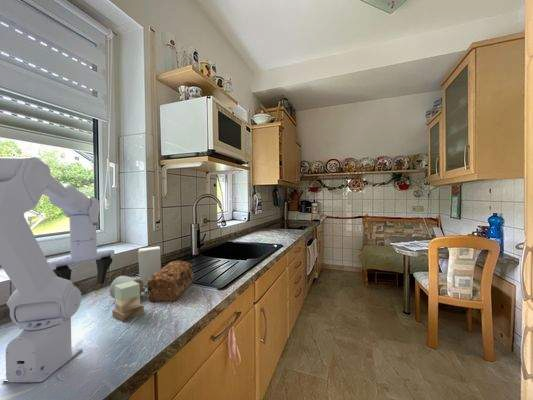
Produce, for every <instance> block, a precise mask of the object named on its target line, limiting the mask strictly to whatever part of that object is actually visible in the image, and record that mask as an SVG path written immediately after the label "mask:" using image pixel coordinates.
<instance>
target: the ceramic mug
mask: <svg viewBox="0 0 533 400" xmlns="http://www.w3.org/2000/svg"><path fill="white" fill-rule="evenodd" d="M129 281H134V282H137V283H139V285H140V295H141V294H142V293H145V292H146V290H147V288H146V286H143V282H142V281H141V280H140V278H138V277H131V276H128V275H120V276H117V277H115V279H113V281H112V282H111V284H110V287H109V295H110V296H111V298H113V299H115V285H119V284H122V283H126V282H129Z"/></svg>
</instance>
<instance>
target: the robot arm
mask: <svg viewBox="0 0 533 400" xmlns="http://www.w3.org/2000/svg"><path fill="white" fill-rule="evenodd" d="M42 196H45V197H47V198H48V201H49V203H50V204H52V205H53V206H55V207H57V208H59V209H60V210H61V211H62V212H64V215H65V217H66V218H69V243H70V245H69V247H70V249H69V250H70V251H69V252H70V255H69V256H66V257H61V258H58V259H55V260H49V261H48V260H47V257H46V256H45V254H44V252H43V250H42V249H41V246H40V244H39V243H38V240H37V238H36V237H35V235H34V232H33V231H32V229H31V227H30V225H29V223H28V221H27V219H26V217H25V213H27V212H29V211H31V210H33V209H35V208H36V207H37V205H38V204H39V202H40V200H41V198H42ZM100 211H101V206H100V201H99V200H98V198H95V197H94V196H87V195H86V194H84V193H83V192H81V191H80V190H79V189H77V188H76V187H75V185H74V184H71V183H64V184H63V183H61V182H60V181H58V180H57V179H56V178H55V177H54V176H52V173H51V169H50V166H49V164H47V163H45V162H44V161H43V160H42V159H41V158H39V157H37V156H28V157H21V156H20V157H11V156H6V157H5V156H0V267H1V268H2V269H3V271H4V272H5V274H6V276H7V277H8V279H9V280H10V282H11V283H12V284H13V286H14V287H15V290H14V291H13V292H11V294H10V296H9V298H8V300H7V302H6V305H7V307H8V308H9V317H10V319H11V321H12V322H13V324H16V325H18V327H19V328H18V329H19V330H22V331H21V332H20V333H19V334H18V335H17V336H15V337H14V338H13V339H12V340H10V341H9V342H8V344H7V346H6V348H5V377H6V380H8V381H13V382H12V383H42V382H43V381H45V380H46V379H47V378H49V377H50V376H51V375H53V373H55V372H56V371H57V370H59V369H60V368H61V367H63V366H64V365H66V363H68V362H69V361H70V360H72V359H73V358H74V357H75V356H77V354H79V353H80V352H81V351H83V347H72V346H73V345H72V317H73V316H74V315H75V314H76V313H77V311H78V310H79V309H80V306H81V302H82V292H81V290H80V289H79V288H78V287H77V286H75V285H74V284H73V281H71V280H72V279H71V278H72V277H71V275H72V271H73V270H72V269H71V268H70V266H74V265H78V264H83V263H88V262H92V261H95V263H96V270H97V284H99V285H104V284H105V279H106V275H107V272H108V270H109V268H110V266H111V265H112V264H113V257H115V255H116V254H115V249H108V250H100V251H98V243H97V241H98V240H97V223H98V222H99V214H100Z"/></svg>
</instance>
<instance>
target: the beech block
mask: <svg viewBox="0 0 533 400" xmlns="http://www.w3.org/2000/svg"><path fill="white" fill-rule="evenodd" d="M114 299H115V304H114V305H115V309H117V310H119V311H120V312H121V313H123V312H126V311H129V310H132V309H134V308H137V307H140V305H141V294H140V295H139V296H136V297H133V298H130V299H127V300H124V301H120V300H119V299H117V298H116V297H115V298H114Z"/></svg>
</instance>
